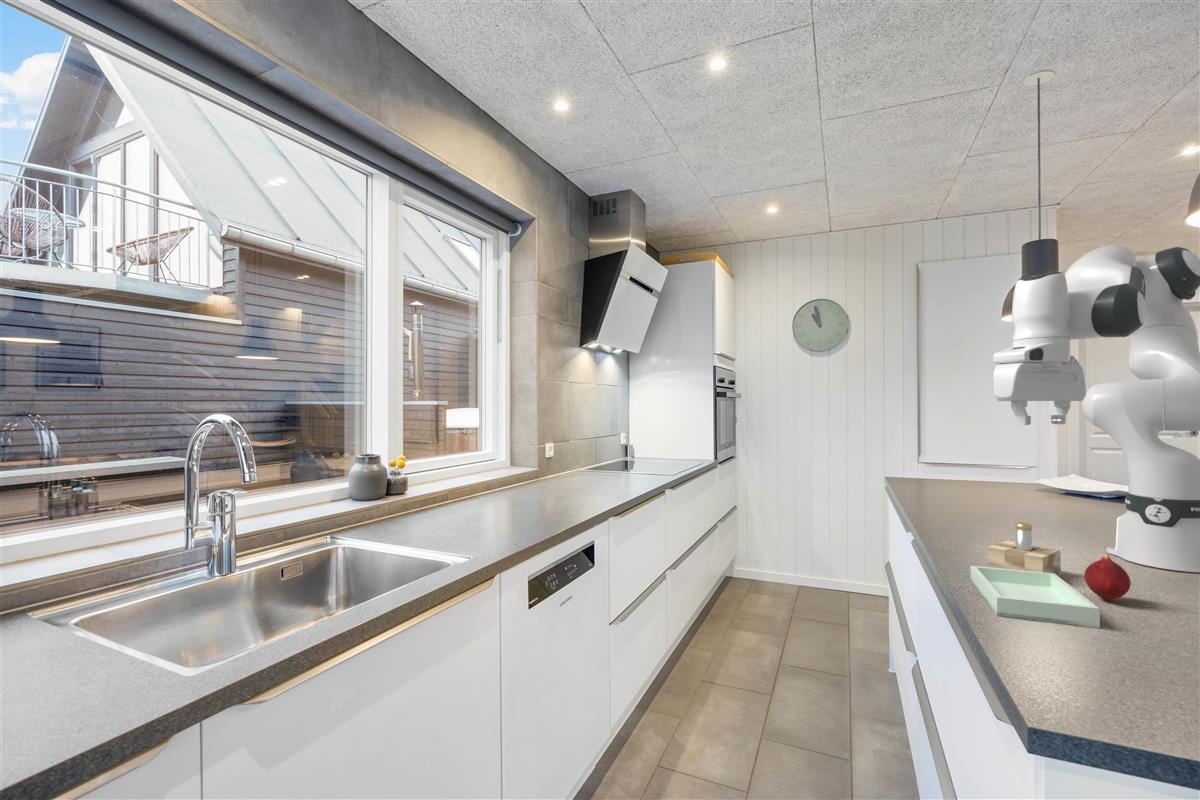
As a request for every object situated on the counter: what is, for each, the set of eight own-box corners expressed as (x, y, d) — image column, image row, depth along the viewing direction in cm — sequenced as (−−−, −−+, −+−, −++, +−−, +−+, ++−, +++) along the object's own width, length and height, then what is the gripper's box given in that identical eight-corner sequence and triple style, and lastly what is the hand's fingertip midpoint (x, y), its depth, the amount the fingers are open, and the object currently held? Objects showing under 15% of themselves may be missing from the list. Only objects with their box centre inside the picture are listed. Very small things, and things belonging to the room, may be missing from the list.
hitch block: (1007, 563, 114) (1007, 540, 114) (1060, 575, 107) (1060, 550, 107) (988, 571, 109) (988, 547, 109) (1042, 584, 102) (1042, 557, 102)
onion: (1140, 608, 90) (1139, 560, 90) (1100, 606, 91) (1099, 559, 91) (1114, 595, 95) (1113, 551, 95) (1076, 594, 96) (1076, 549, 96)
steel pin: (1019, 570, 110) (1018, 521, 110) (1034, 573, 107) (1033, 524, 108) (1013, 572, 108) (1012, 523, 108) (1029, 576, 106) (1028, 525, 106)
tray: (970, 581, 104) (970, 565, 104) (1054, 589, 99) (1054, 573, 99) (997, 615, 87) (996, 597, 87) (1099, 628, 82) (1099, 608, 82)
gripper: (1060, 357, 112) (1061, 423, 111) (986, 354, 106) (986, 424, 106) (1096, 354, 106) (1096, 424, 105) (1019, 351, 100) (1019, 425, 100)
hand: (1041, 424), depth 106 cm, fingers open, 8 cm apart
